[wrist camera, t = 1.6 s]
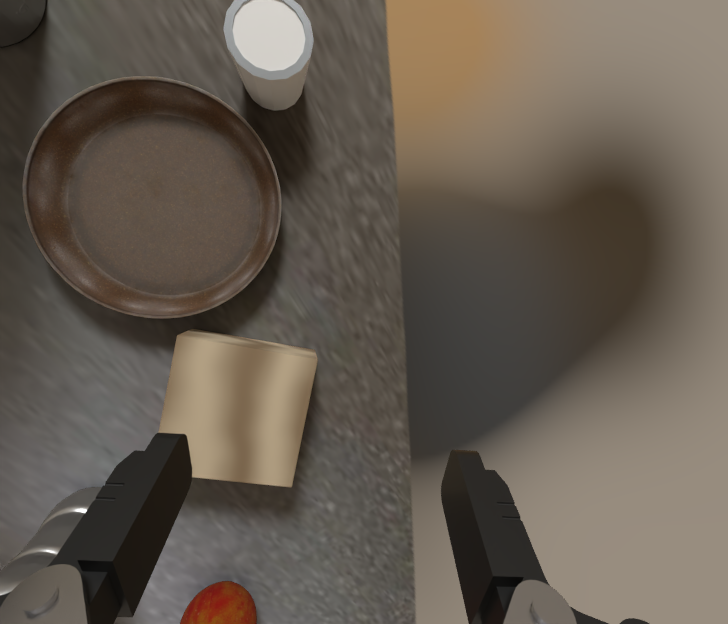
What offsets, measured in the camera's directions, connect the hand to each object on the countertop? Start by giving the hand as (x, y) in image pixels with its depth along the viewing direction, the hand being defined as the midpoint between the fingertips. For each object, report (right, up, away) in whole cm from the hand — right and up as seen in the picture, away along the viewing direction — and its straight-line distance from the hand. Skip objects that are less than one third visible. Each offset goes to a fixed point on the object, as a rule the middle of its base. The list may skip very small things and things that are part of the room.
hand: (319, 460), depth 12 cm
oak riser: (-11, -4, +27) cm, 29 cm away
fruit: (-13, -25, +28) cm, 40 cm away
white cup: (-7, +27, +25) cm, 37 cm away
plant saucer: (-17, +15, +24) cm, 33 cm away
